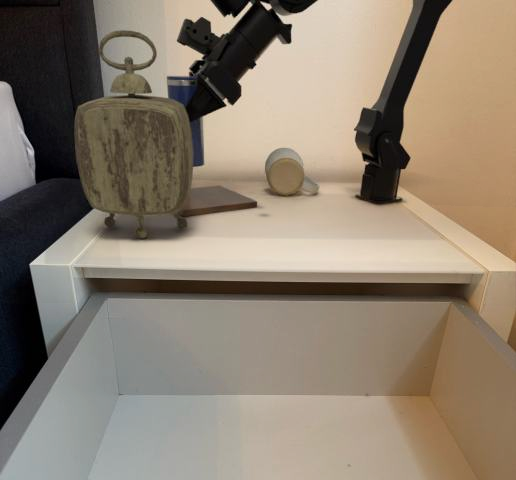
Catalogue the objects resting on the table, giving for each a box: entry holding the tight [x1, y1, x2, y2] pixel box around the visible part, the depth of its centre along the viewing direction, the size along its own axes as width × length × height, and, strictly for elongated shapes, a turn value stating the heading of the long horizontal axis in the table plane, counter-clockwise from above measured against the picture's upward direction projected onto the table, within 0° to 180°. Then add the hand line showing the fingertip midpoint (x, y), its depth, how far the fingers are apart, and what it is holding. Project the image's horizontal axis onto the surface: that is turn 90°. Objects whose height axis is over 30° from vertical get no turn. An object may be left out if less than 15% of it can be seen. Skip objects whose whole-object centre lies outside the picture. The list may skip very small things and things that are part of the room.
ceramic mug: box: [264, 147, 320, 196], centre depth 96 cm, size 11×8×8 cm
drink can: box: [166, 75, 205, 168], centre depth 81 cm, size 6×6×13 cm
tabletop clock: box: [73, 29, 194, 240], centre depth 66 cm, size 14×9×25 cm, turn 92°
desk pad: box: [177, 184, 258, 217], centre depth 89 cm, size 14×14×1 cm
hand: (177, 121), depth 80 cm, fingers closed on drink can, 5 cm apart
